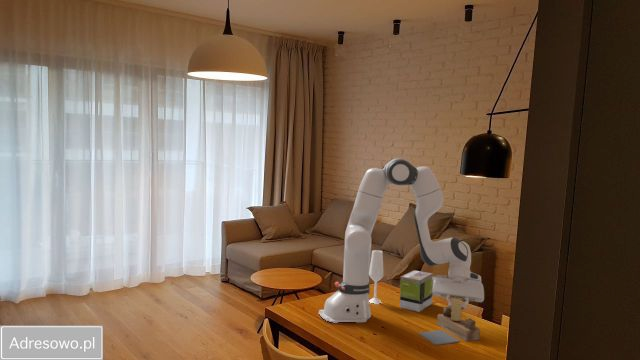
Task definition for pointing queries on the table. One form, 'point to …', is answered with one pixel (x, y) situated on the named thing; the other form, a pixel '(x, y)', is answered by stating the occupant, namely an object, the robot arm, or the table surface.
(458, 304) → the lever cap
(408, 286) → the tea box
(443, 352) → the table surface
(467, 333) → the plane body
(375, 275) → the champagne flute
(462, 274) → the robot arm
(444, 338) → the rubber mat
